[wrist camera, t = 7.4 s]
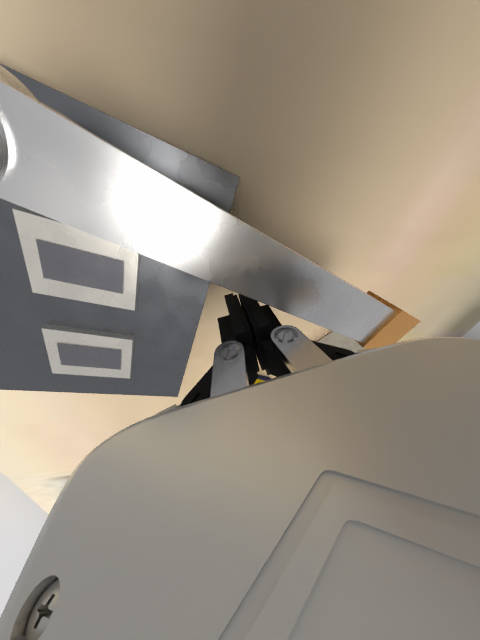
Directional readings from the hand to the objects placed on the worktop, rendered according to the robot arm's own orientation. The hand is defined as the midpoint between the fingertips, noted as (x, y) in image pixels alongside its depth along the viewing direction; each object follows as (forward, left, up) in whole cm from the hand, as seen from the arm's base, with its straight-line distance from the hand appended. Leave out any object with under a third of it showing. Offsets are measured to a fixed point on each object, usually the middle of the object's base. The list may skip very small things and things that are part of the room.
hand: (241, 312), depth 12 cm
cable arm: (-4, -1, +1) cm, 4 cm away
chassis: (+4, -10, -6) cm, 12 cm away
